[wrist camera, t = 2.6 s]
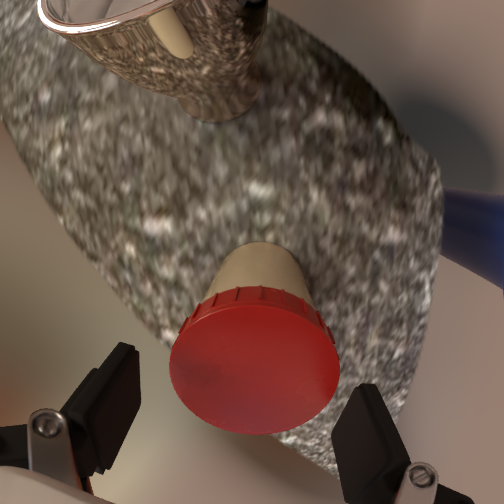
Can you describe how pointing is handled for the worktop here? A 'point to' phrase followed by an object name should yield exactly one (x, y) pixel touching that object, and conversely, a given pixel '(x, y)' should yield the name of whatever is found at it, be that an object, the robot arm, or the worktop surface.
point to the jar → (260, 271)
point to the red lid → (255, 361)
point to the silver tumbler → (171, 47)
